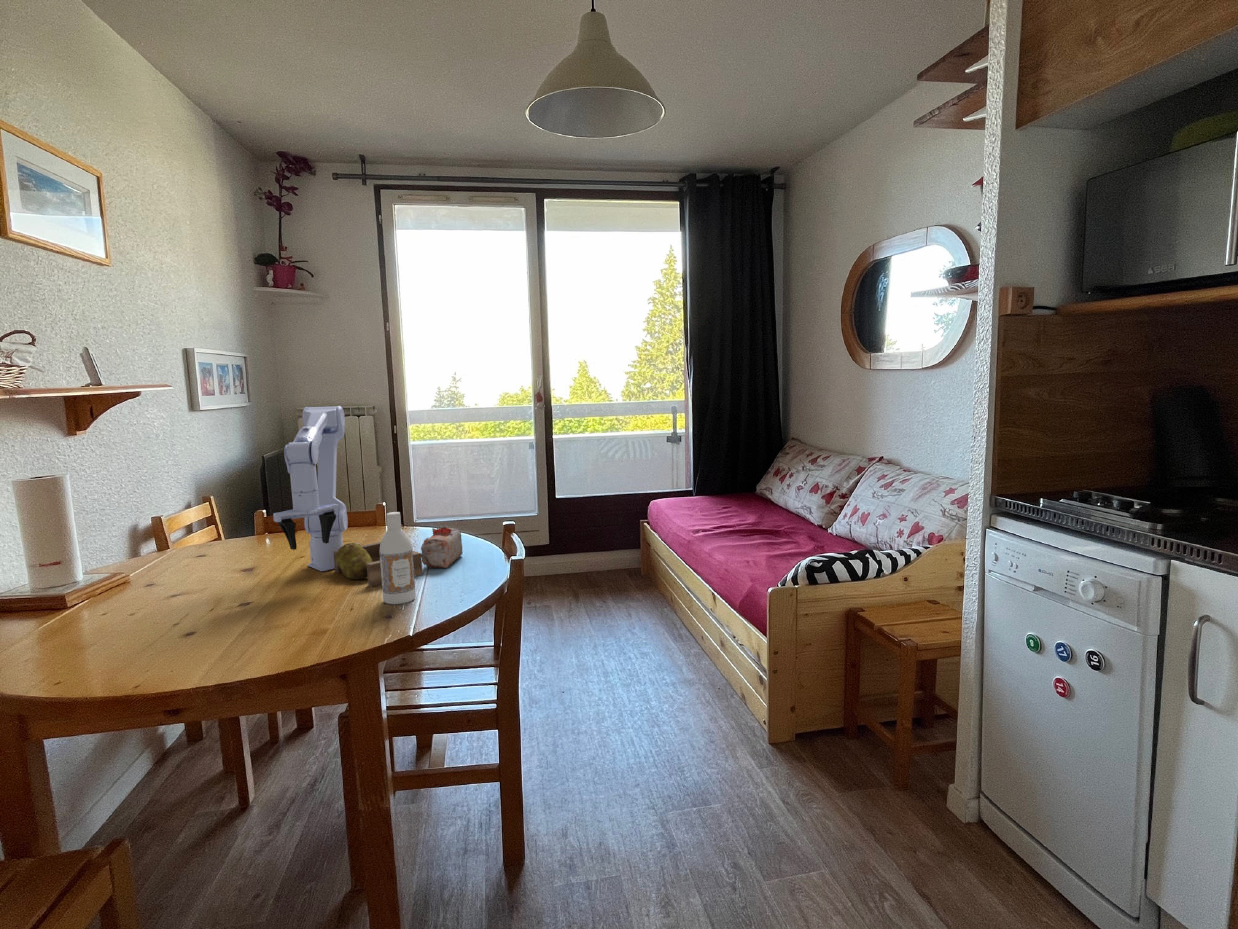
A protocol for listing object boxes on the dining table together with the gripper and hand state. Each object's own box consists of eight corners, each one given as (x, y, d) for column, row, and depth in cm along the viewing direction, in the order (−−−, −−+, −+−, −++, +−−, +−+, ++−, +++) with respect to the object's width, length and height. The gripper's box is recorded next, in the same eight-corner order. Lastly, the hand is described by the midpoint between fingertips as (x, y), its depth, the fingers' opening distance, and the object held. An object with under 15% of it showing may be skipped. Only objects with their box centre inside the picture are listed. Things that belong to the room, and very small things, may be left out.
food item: (449, 570, 169) (447, 533, 168) (420, 570, 170) (417, 533, 169) (465, 556, 183) (463, 522, 182) (437, 556, 183) (435, 522, 182)
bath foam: (387, 607, 141) (380, 517, 139) (380, 599, 147) (373, 512, 144) (419, 600, 145) (413, 513, 142) (410, 593, 151) (404, 508, 148)
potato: (339, 585, 158) (337, 553, 157) (336, 572, 170) (334, 542, 169) (375, 579, 162) (373, 548, 161) (370, 568, 173) (368, 538, 172)
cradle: (335, 571, 170) (332, 547, 170) (383, 560, 180) (381, 537, 179) (372, 587, 156) (369, 560, 155) (422, 574, 166) (420, 549, 165)
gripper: (279, 497, 148) (284, 554, 150) (341, 488, 159) (346, 542, 160) (268, 494, 153) (273, 550, 155) (329, 485, 164) (334, 538, 165)
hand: (309, 545), depth 158 cm, fingers open, 7 cm apart
